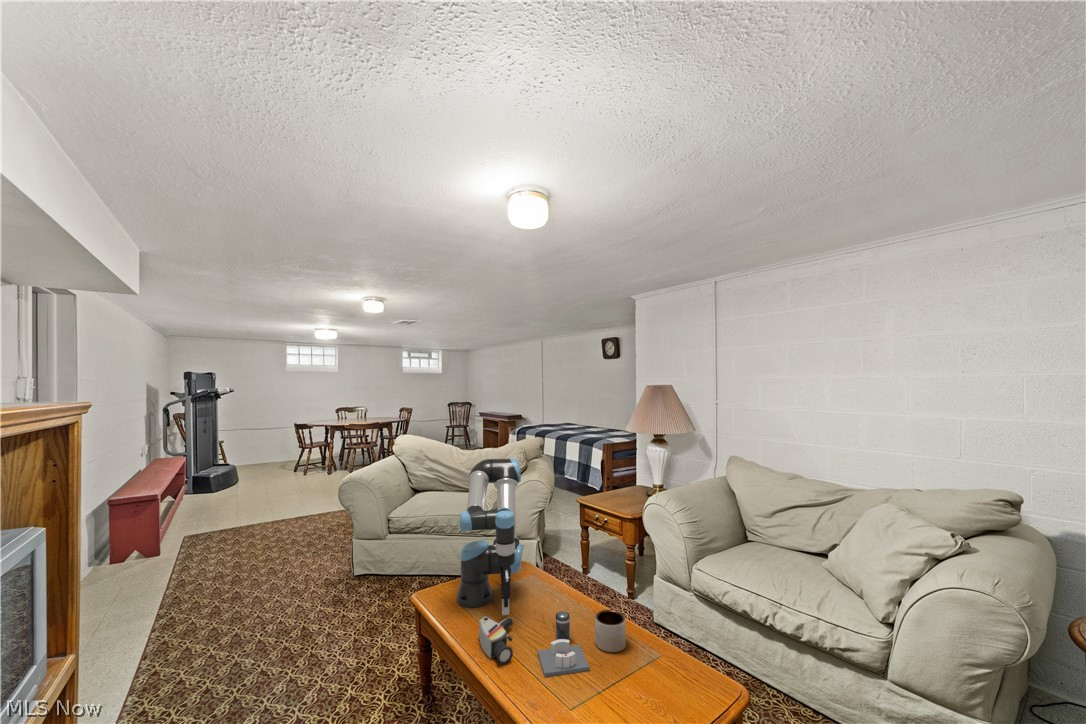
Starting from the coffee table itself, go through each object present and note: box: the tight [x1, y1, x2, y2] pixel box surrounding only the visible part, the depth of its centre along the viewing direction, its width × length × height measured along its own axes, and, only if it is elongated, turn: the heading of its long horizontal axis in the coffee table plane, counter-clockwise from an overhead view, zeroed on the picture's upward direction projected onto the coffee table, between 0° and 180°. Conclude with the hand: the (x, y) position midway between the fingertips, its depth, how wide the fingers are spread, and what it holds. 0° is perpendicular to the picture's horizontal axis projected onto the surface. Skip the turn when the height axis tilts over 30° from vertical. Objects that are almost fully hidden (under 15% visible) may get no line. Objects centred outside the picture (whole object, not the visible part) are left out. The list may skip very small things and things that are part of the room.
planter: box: [594, 609, 627, 654], centre depth 159 cm, size 11×11×10 cm
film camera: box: [478, 615, 514, 665], centre depth 159 cm, size 7×19×15 cm
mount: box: [537, 639, 591, 678], centre depth 150 cm, size 12×15×5 cm
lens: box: [555, 610, 571, 641], centre depth 162 cm, size 5×5×9 cm
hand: (505, 613), depth 174 cm, fingers closed
